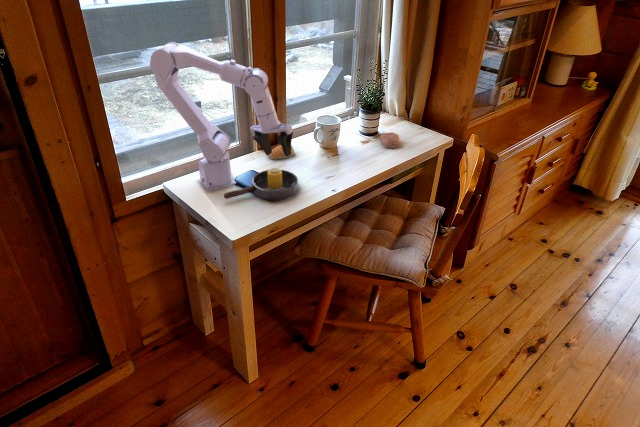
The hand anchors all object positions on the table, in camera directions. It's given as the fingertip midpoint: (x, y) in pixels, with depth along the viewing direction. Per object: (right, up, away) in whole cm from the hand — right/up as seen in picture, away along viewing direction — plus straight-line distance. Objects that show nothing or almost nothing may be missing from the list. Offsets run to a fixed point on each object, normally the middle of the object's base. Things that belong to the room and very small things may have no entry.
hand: (278, 154), depth 144 cm
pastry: (-1, +2, +24) cm, 24 cm away
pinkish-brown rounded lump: (+39, +8, +35) cm, 53 cm away
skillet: (-1, -11, +4) cm, 12 cm away
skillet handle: (-11, -12, -2) cm, 17 cm away
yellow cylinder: (-1, -10, +4) cm, 11 cm away
